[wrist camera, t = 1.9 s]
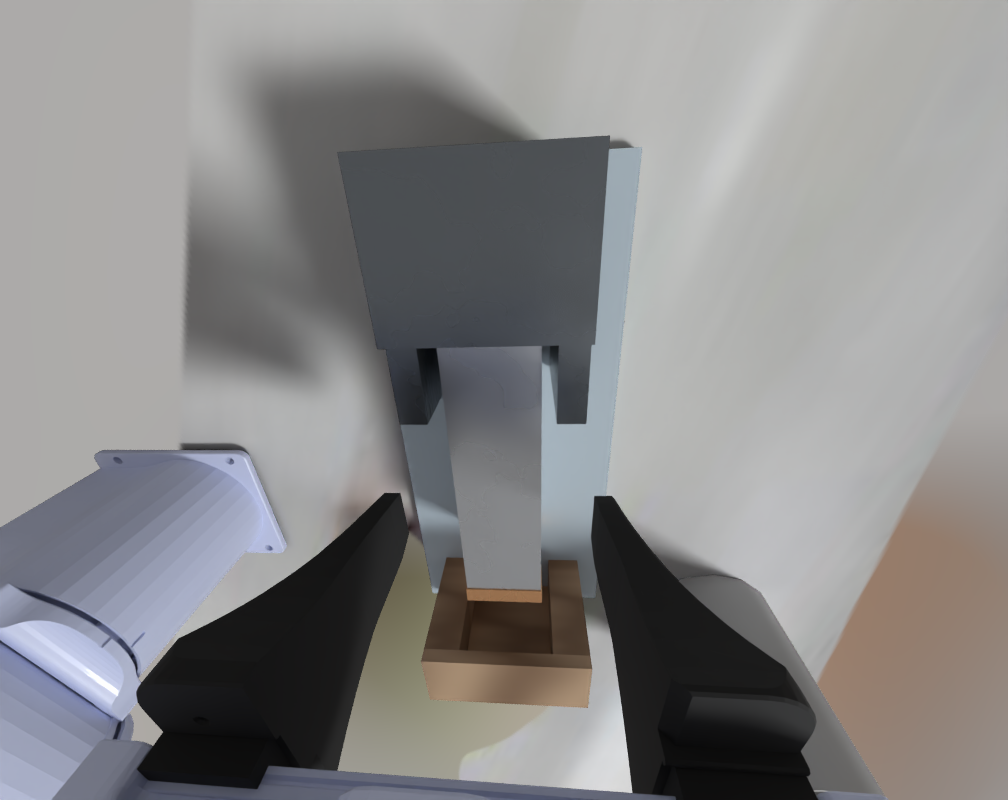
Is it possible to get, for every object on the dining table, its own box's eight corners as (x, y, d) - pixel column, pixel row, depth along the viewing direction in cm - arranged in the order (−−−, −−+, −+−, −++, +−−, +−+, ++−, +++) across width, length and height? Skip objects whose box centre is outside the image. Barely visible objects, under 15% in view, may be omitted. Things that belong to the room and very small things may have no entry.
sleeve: (435, 368, 18) (394, 433, 13) (409, 176, 14) (337, 152, 9) (570, 366, 17) (589, 433, 12) (578, 166, 14) (610, 135, 8)
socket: (452, 593, 25) (430, 699, 20) (446, 557, 24) (420, 661, 18) (574, 597, 25) (587, 707, 19) (577, 560, 23) (592, 669, 18)
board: (434, 585, 26) (432, 592, 25) (356, 166, 15) (350, 164, 14) (593, 589, 25) (595, 597, 25) (637, 149, 14) (642, 146, 13)
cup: (647, 573, 24) (716, 783, 15) (780, 576, 23) (934, 797, 15) (633, 649, 28) (682, 854, 19) (747, 654, 27) (853, 868, 18)
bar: (479, 527, 22) (467, 600, 18) (449, 217, 15) (417, 218, 11) (539, 528, 22) (541, 602, 18) (540, 213, 14) (544, 212, 10)
